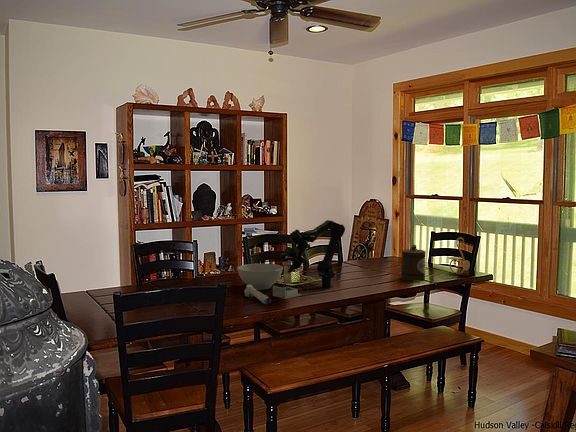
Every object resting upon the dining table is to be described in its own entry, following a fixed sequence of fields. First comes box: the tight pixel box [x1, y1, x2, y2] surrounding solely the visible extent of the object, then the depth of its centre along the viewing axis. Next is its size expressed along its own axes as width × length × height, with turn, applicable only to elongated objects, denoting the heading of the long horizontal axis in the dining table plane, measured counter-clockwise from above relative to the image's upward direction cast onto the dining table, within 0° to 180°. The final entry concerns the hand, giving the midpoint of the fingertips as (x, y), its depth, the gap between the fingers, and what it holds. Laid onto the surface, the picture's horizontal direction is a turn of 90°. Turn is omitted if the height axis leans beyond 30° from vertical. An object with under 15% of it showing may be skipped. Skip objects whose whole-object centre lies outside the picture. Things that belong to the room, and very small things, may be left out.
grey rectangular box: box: [272, 285, 302, 300], centre depth 281 cm, size 12×10×6 cm
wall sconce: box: [447, 237, 471, 275], centre depth 340 cm, size 14×10×25 cm
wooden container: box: [401, 244, 427, 281], centre depth 326 cm, size 15×15×22 cm
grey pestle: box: [244, 284, 272, 305], centre depth 272 cm, size 5×7×25 cm
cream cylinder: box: [283, 261, 292, 285], centre depth 279 cm, size 4×4×12 cm
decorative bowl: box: [237, 263, 283, 291], centre depth 301 cm, size 27×27×12 cm
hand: (285, 272), depth 278 cm, fingers closed on cream cylinder, 4 cm apart
